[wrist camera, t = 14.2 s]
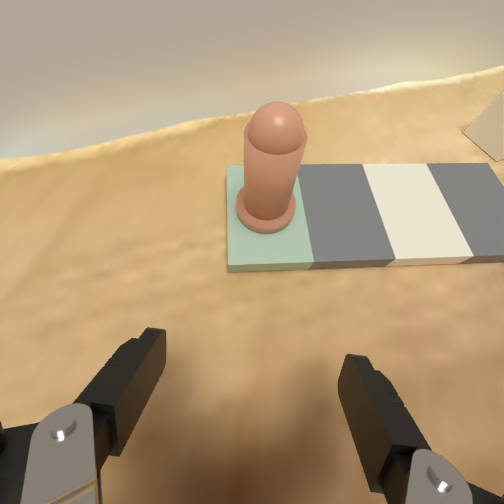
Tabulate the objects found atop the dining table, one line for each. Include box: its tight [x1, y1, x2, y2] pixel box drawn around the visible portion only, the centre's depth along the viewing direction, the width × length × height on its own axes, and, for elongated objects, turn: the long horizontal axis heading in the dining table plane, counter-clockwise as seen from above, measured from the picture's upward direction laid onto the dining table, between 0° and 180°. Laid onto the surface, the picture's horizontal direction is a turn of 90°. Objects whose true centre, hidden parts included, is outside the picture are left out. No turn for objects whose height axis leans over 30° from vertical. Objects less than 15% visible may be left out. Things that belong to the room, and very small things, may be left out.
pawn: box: [236, 102, 307, 234], centre depth 16 cm, size 5×5×9 cm
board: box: [226, 163, 504, 272], centre depth 21 cm, size 26×10×2 cm, turn 93°
